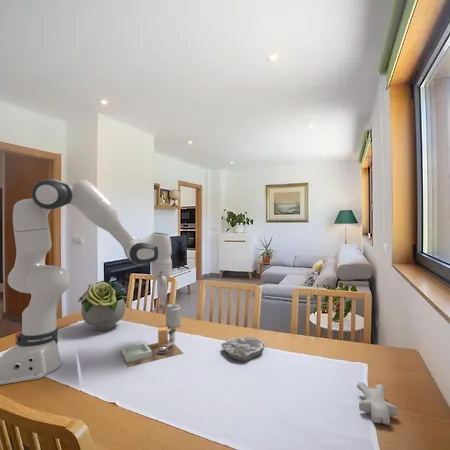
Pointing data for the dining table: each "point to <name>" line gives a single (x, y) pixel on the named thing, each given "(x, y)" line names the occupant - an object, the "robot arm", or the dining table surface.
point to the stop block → (162, 336)
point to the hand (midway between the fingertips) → (162, 301)
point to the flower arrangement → (103, 304)
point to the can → (173, 316)
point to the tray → (136, 352)
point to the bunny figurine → (376, 404)
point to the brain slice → (243, 348)
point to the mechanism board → (157, 354)
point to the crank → (170, 342)
